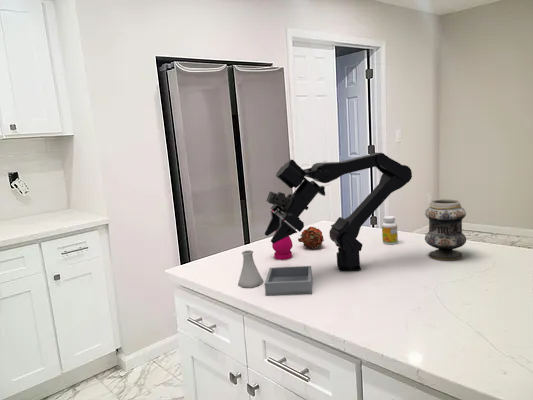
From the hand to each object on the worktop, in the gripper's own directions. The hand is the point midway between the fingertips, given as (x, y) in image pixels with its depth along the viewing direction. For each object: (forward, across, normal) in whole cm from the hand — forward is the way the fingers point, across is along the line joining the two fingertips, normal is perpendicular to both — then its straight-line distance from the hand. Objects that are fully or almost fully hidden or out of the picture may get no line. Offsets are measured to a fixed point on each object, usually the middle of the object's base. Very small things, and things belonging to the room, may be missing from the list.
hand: (268, 238), depth 118 cm
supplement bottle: (-25, -19, +44) cm, 54 cm away
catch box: (+6, +7, +12) cm, 15 cm away
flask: (+14, 0, +5) cm, 15 cm away
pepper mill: (+3, -20, +15) cm, 26 cm away
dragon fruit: (-6, -28, +24) cm, 37 cm away
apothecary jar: (-31, +3, +49) cm, 58 cm away
